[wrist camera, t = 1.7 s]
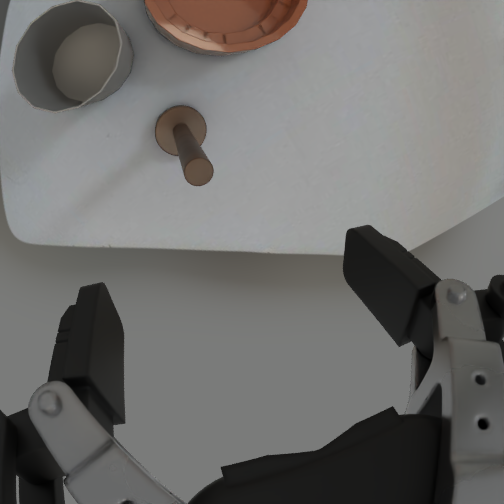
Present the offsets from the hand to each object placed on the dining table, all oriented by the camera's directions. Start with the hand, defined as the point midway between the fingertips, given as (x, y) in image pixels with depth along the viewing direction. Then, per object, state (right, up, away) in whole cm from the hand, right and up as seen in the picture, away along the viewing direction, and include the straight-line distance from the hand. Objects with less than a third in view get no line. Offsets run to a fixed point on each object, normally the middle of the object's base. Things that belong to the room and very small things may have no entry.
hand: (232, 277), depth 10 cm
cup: (-15, +19, +13) cm, 28 cm away
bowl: (-3, +26, +13) cm, 29 cm away
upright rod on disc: (-7, +13, +20) cm, 24 cm away
